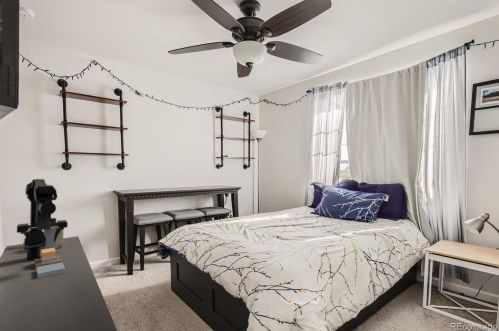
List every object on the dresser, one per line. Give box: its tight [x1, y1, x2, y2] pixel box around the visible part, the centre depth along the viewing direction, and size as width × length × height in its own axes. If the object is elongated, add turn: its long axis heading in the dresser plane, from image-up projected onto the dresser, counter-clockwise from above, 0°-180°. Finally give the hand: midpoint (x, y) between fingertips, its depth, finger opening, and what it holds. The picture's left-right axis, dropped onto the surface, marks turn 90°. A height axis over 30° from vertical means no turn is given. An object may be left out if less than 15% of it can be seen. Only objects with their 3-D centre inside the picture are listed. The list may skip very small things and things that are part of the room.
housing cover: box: [40, 248, 57, 258], centre depth 129 cm, size 7×6×2 cm
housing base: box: [41, 255, 57, 263], centre depth 129 cm, size 7×6×2 cm
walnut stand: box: [34, 255, 62, 269], centre depth 129 cm, size 10×10×2 cm
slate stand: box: [35, 261, 66, 279], centre depth 120 cm, size 10×10×2 cm
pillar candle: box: [43, 226, 64, 249], centre depth 155 cm, size 10×10×15 cm
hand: (42, 243), depth 121 cm, fingers open, 9 cm apart
